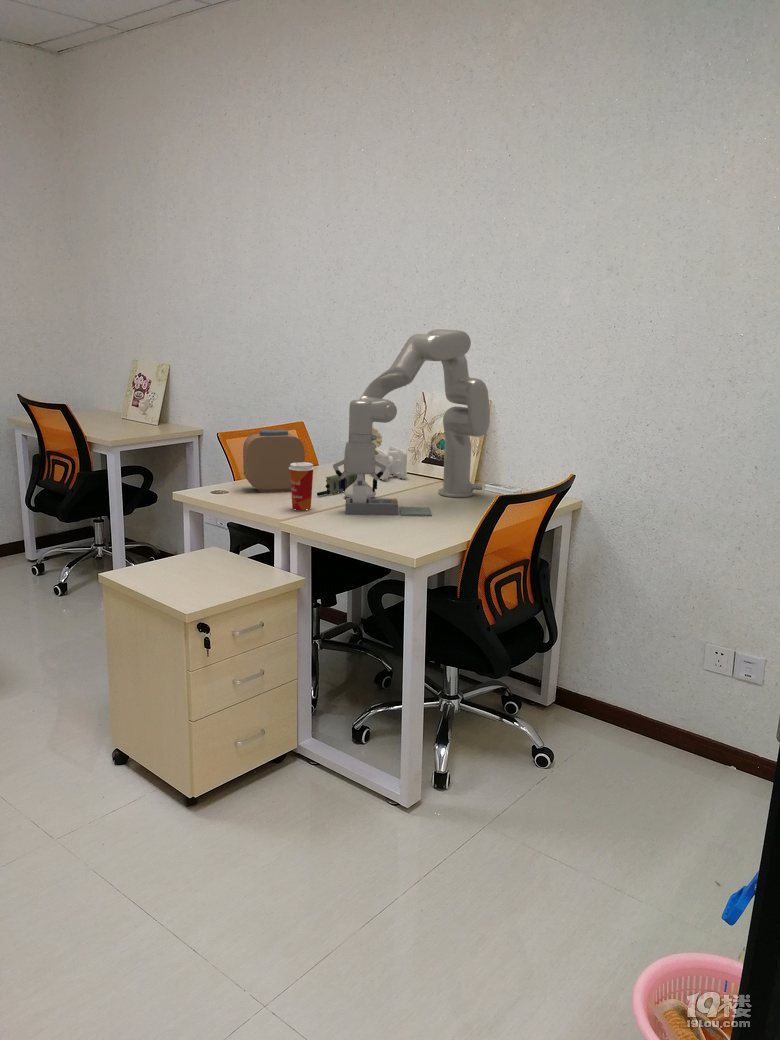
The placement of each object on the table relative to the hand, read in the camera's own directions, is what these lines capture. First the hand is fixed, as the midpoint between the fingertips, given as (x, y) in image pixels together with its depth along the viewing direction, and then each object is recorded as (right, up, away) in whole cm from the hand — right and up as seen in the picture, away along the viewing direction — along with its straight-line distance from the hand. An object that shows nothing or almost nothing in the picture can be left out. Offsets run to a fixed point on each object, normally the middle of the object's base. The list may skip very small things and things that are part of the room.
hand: (358, 490), depth 271 cm
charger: (0, -7, +2) cm, 7 cm away
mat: (+19, -7, +3) cm, 20 cm away
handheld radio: (-8, 0, +30) cm, 31 cm away
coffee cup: (-19, -6, +3) cm, 20 cm away
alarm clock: (-32, +1, +31) cm, 44 cm away
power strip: (+4, -7, +2) cm, 8 cm away
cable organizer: (+9, +7, +58) cm, 59 cm away
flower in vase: (0, -2, +21) cm, 21 cm away
